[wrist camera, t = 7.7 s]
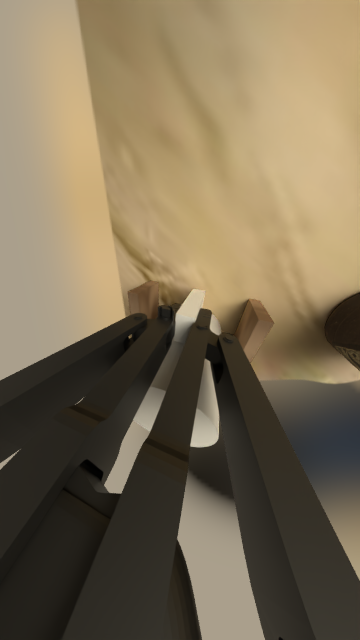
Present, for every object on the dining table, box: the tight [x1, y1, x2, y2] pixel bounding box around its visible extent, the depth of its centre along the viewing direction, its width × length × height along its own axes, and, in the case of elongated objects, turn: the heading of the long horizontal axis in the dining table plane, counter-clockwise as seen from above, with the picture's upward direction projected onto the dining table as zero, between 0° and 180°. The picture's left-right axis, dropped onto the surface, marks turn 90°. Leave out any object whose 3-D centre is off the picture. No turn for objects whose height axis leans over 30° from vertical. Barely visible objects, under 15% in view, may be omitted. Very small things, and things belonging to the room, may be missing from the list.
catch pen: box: [128, 281, 274, 363], centre depth 18 cm, size 14×14×5 cm
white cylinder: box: [133, 314, 221, 447], centre depth 15 cm, size 8×8×12 cm
